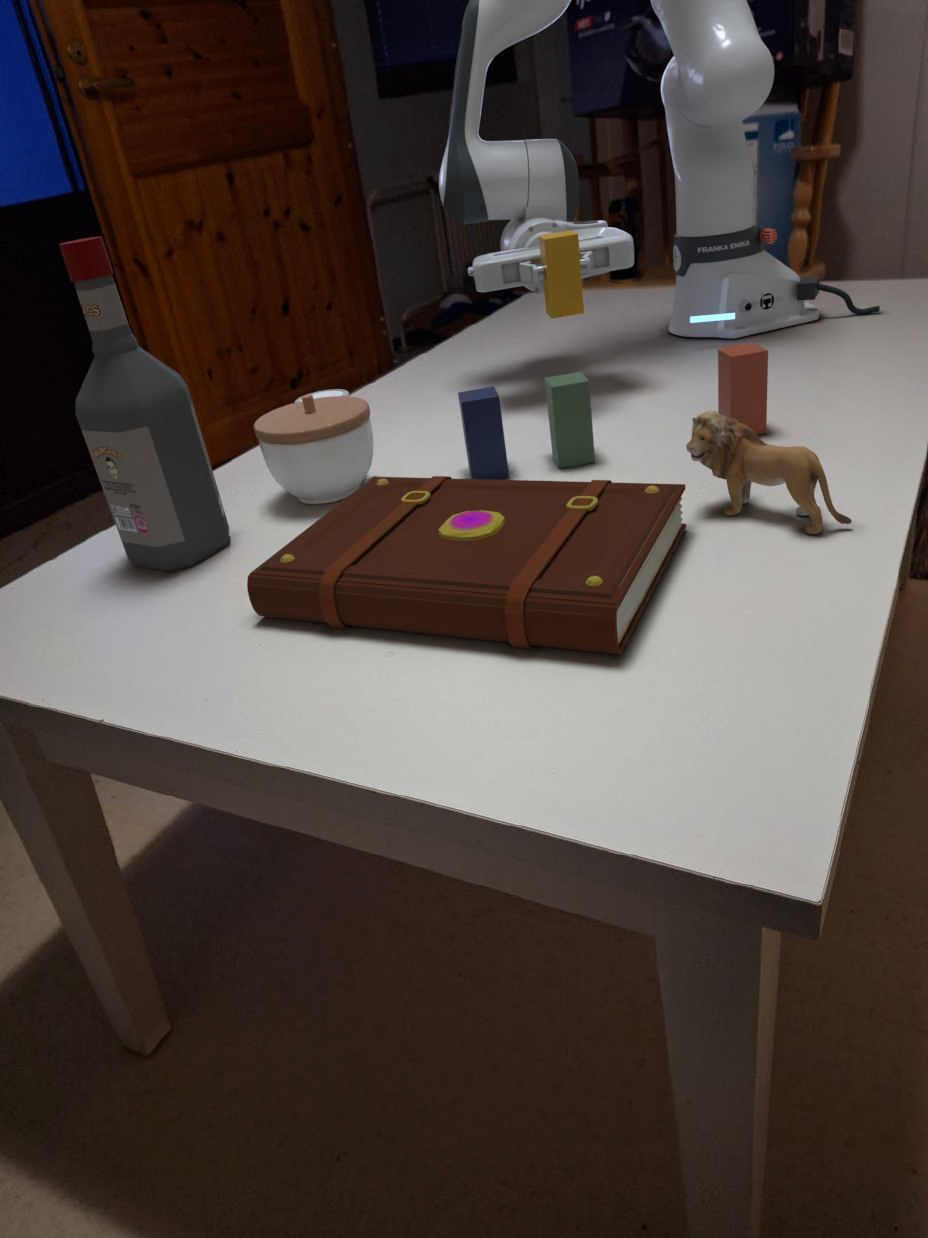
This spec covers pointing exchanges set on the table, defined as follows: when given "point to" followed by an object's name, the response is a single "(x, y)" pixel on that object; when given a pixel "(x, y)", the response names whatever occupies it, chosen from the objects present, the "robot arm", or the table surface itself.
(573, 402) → the sage block
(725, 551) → the table surface
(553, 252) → the mustard block
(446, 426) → the table surface
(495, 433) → the navy block
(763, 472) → the lion figurine
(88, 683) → the table surface
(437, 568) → the book
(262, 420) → the lidded bowl
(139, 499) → the liquor
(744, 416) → the terracotta block
